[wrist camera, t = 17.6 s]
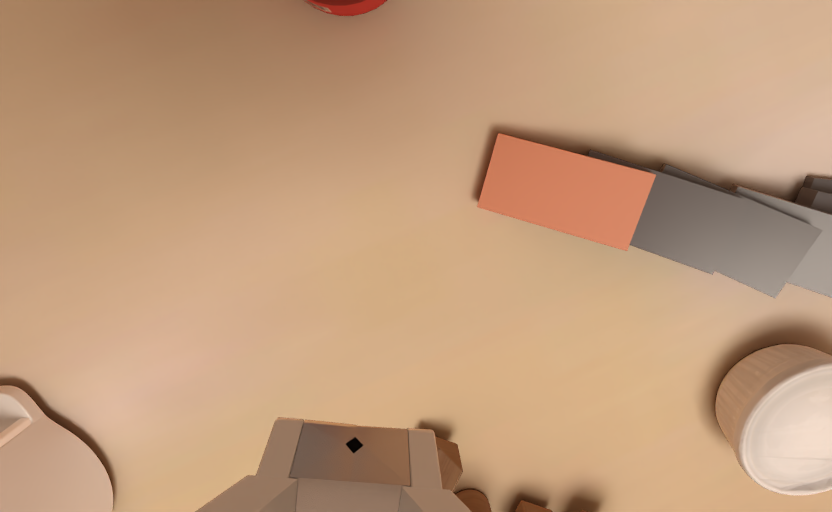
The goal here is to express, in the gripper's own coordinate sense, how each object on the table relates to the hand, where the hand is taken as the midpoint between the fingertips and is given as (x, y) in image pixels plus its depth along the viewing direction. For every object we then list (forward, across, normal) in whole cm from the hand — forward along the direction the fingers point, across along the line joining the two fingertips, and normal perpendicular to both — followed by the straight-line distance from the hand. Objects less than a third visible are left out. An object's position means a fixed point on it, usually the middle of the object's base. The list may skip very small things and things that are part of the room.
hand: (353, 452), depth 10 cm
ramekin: (+27, -33, +12) cm, 44 cm away
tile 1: (+26, -13, -2) cm, 29 cm away
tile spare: (+26, -7, -3) cm, 27 cm away
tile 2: (+26, -18, -2) cm, 32 cm away
